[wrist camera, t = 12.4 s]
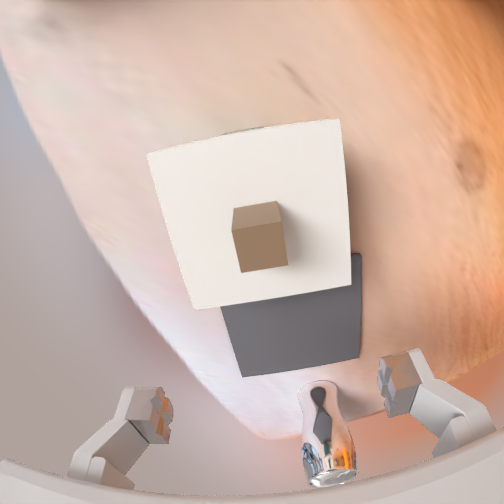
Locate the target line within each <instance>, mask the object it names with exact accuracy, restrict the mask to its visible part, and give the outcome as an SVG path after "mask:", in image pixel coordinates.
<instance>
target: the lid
mask: <svg viewBox="0 0 504 504" xmlns="http://www.w3.org/2000/svg"><path fill="white" fill-rule="evenodd" d="M146 155H147V159H148V163H149V167H150V170H151V174H152V178H153V181H154V185H155V188H156V192H157V195H158V199H159V202H160V206H161V209H162V213H163V216H164V219H165V223H166V226H167V229H168V233H169V236H170V239H171V242H172V245H173V249H174V252H175V255H176V258H177V261H178V264H179V267H180V270H181V273H182V276H183V279H184V282H185V285H186V288H187V291H188V294H189V297H190V300H191V303H192V305H193V308H194V310H198V309H205V308H212V307H220V306H227V305H233V304H240V303H247V302H253V301H260V300H266V299H272V298H279V297H285V296H291V295H297V294H302V293H308V292H314V291H320V290H325V289H331V288H336V287H342V286H347V285H351V252H350V229H349V212H348V197H347V185H346V173H345V163H344V153H343V144H342V135H341V127H340V119H338V118H333V119H323V120H315V121H307V122H299V123H292V124H285V125H278V126H272V127H265V128H259V129H254V130H248V131H242V132H237V133H232V134H227V135H222V136H217V137H212V138H207V139H203V140H198V141H194V142H189V143H185V144H181V145H177V146H173V147H169V148H165V149H161V150H157V151H153V152H149V153H148V154H146Z"/></svg>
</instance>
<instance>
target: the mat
mask: <svg viewBox="0 0 504 504" xmlns="http://www.w3.org/2000/svg"><path fill="white" fill-rule="evenodd" d="M361 293H362V256H361V254H360V253H356V254H351V285H347V286H342V287H336V288H331V289H325V290H320V291H314V292H308V293H302V294H297V295H291V296H285V297H279V298H272V299H266V300H260V301H253V302H247V303H240V304H233V305H227V306H220V307H221V310H222V314H223V317H224V320H225V324H226V327H227V330H228V333H229V337H230V340H231V343H232V346H233V349H234V353H235V356H236V359H237V362H238V365H239V368H240V371H241V375H242V377H249V376H257V375H264V374H272V373H278V372H285V371H292V370H298V369H304V368H310V367H315V366H321V365H326V364H331V363H336V362H341V361H346V360H351V359H356V358H359V348H360V328H361Z"/></svg>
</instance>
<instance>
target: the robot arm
mask: <svg viewBox="0 0 504 504" xmlns="http://www.w3.org/2000/svg"><path fill="white" fill-rule="evenodd" d="M379 365H380V368H381V369H380V370H379V371H378V377H377V379H378V387H379V391H380V394H381V395H382V396H383V397H385V402H384V406H385V409H386V412H387V415H388V417H389V418H390V417H394V416H398V415H402V414H406V413H410V414H411V415H412V416H413V417H414V418H415V419H416V420H418V421H419V422H420V423H421V424H422V425H424V426H425V427H426V428H427V429H428V430H430V431H431V432H432V433H433V434H435V435H436V436H437V437H438V438H440V440H439V441H438V443H437V445H436V446H435V448H434V449H433V451H432V455H433V459H430V460H427V461H424V462H421V463H418V464H415V465H413V466H409V467H406V468H403V469H400V470H396V471H392V472H389V473H385V474H382V475H378V476H374V477H370V478H366V479H362V480H357V481H353V482H348V483H343V484H338V485H333V486H327V487H321V488H315V489H308V490H301V491H293V492H285V493H273V494H261V495H239V496H198V495H177V494H164V493H154V492H145V491H136V490H134V486H135V484H134V483H133V482H132V481H131V480H130V479H128V478H127V477H126V476H125V475H126V473H127V472H128V471H129V470H130V468H131V467H132V466H133V465H134V463H135V462H136V461H137V460H138V458H139V457H140V456H141V455H142V453H143V452H144V451H145V450H146V448H147V447H148V446H149V444H169V438H170V432H171V430H170V428H169V426H168V425H169V424H170V423H171V422H172V421H173V406H172V403H171V401H170V400H169V399H168V398H166V397H165V396H164V395H165V392H164V390H163V389H162V387H125V388H124V390H123V392H122V395H121V398H120V401H119V404H118V407H117V410H116V413H115V416H114V419H110V420H109V421H108V422H107V423H106V424H105V425H104V426H103V427H102V428H100V429H99V430H98V431H97V432H96V433H95V434H94V435H93V436H92V437H91V438H90V439H89V440H87V441H86V442H85V443H84V444H83V445H82V446H81V447H80V448H79V449H77V450H76V451H75V453H74V456H73V459H72V462H71V465H70V468H69V472H68V475H67V477H65V476H61V475H58V474H54V473H51V472H47V471H44V470H41V469H37V468H34V467H31V466H28V465H25V464H22V463H20V462H17V461H14V460H11V459H4V460H2V461H0V504H504V427H503V428H501V429H499V430H496V428H495V426H494V424H493V422H492V420H491V418H490V416H489V414H488V412H487V410H486V408H485V406H484V405H483V404H482V403H480V402H478V401H477V400H475V399H473V398H472V397H470V396H468V395H466V394H465V393H463V392H461V391H460V390H458V389H456V388H454V387H453V386H451V385H449V384H448V383H446V382H444V381H443V380H441V379H435V377H434V375H433V373H432V371H431V369H430V367H429V365H428V363H427V361H426V359H425V357H424V355H423V353H422V352H421V350H420V349H419V348H416V349H412V350H409V351H404V352H400V353H396V354H393V355H389V356H385V357H381V359H380V362H379Z"/></svg>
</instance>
